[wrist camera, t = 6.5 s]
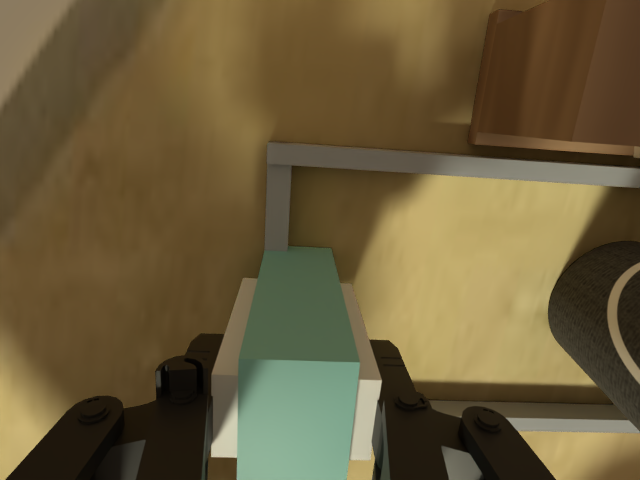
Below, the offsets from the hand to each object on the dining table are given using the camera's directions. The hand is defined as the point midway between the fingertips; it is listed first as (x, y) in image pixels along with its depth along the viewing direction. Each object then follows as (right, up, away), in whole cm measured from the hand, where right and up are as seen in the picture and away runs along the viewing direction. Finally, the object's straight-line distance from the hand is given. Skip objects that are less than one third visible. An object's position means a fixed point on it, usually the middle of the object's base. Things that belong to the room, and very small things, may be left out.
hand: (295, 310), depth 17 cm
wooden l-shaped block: (+15, +9, 0) cm, 18 cm away
